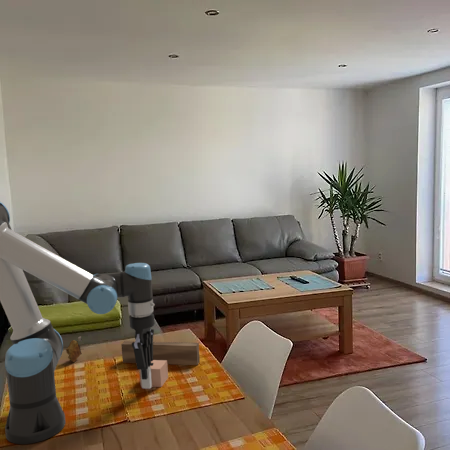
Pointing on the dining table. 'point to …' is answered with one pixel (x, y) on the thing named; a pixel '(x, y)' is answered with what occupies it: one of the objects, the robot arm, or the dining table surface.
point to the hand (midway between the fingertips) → (146, 387)
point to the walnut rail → (166, 352)
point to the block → (158, 373)
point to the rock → (74, 350)
